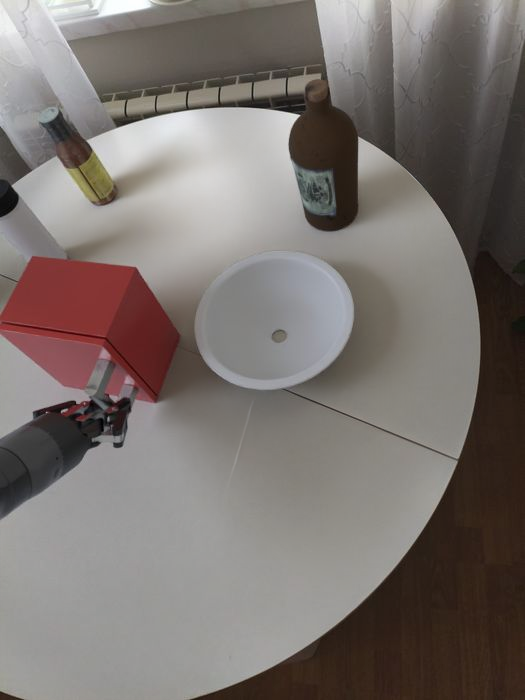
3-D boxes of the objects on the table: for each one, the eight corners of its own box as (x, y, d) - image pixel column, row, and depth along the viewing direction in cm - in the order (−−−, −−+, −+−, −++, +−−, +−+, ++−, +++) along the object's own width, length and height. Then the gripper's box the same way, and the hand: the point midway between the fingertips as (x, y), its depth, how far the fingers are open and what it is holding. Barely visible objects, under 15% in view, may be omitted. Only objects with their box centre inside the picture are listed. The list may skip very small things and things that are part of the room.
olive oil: (319, 182, 101) (301, 55, 80) (372, 197, 97) (368, 68, 76) (290, 224, 98) (263, 103, 76) (344, 242, 94) (332, 120, 72)
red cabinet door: (143, 436, 84) (85, 384, 68) (49, 416, 89) (-26, 364, 72) (157, 397, 86) (105, 339, 70) (65, 380, 91) (-3, 322, 75)
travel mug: (42, 286, 102) (-27, 211, 85) (35, 261, 106) (-32, 185, 89) (73, 271, 103) (10, 194, 86) (65, 247, 106) (3, 169, 89)
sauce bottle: (117, 180, 112) (69, 95, 95) (118, 202, 109) (68, 119, 92) (87, 189, 113) (33, 106, 96) (87, 211, 110) (32, 129, 93)
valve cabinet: (158, 396, 87) (105, 336, 70) (66, 379, 91) (-3, 320, 75) (181, 336, 91) (136, 266, 75) (92, 323, 96) (32, 255, 80)
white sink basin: (252, 257, 96) (244, 232, 90) (382, 302, 87) (381, 277, 81) (178, 370, 88) (163, 351, 82) (311, 433, 79) (305, 416, 73)
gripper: (84, 438, 60) (161, 384, 76) (-19, 416, 64) (74, 369, 80) (88, 498, 62) (162, 434, 78) (-12, 473, 66) (77, 416, 82)
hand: (117, 401), depth 79 cm, fingers open, 3 cm apart
